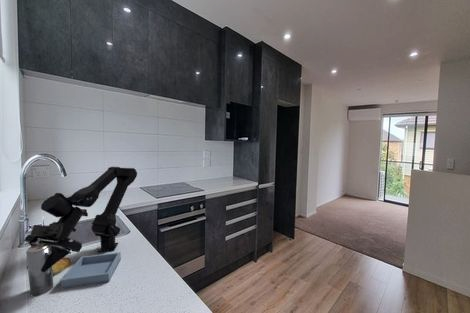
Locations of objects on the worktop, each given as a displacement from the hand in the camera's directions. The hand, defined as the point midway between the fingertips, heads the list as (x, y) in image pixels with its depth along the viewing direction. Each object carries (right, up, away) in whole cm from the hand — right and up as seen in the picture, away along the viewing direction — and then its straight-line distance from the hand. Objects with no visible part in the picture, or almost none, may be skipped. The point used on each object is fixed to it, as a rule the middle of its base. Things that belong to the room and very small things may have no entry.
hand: (35, 270), depth 67 cm
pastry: (-4, -7, +13) cm, 15 cm away
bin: (+12, -7, +11) cm, 17 cm away
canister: (0, -7, +2) cm, 8 cm away
